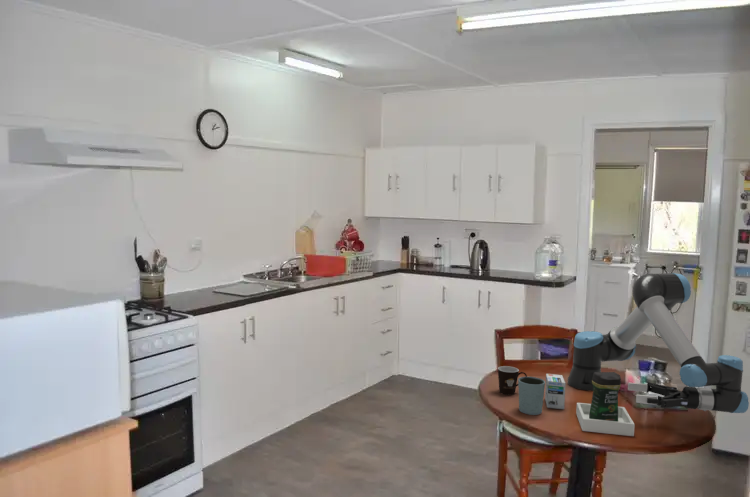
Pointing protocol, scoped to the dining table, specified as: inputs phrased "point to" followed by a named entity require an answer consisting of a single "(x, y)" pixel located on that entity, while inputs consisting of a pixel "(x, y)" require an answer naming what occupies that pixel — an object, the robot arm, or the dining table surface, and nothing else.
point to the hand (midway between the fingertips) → (631, 392)
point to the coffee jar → (605, 396)
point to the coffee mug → (508, 379)
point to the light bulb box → (555, 391)
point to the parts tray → (605, 422)
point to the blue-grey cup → (531, 395)
